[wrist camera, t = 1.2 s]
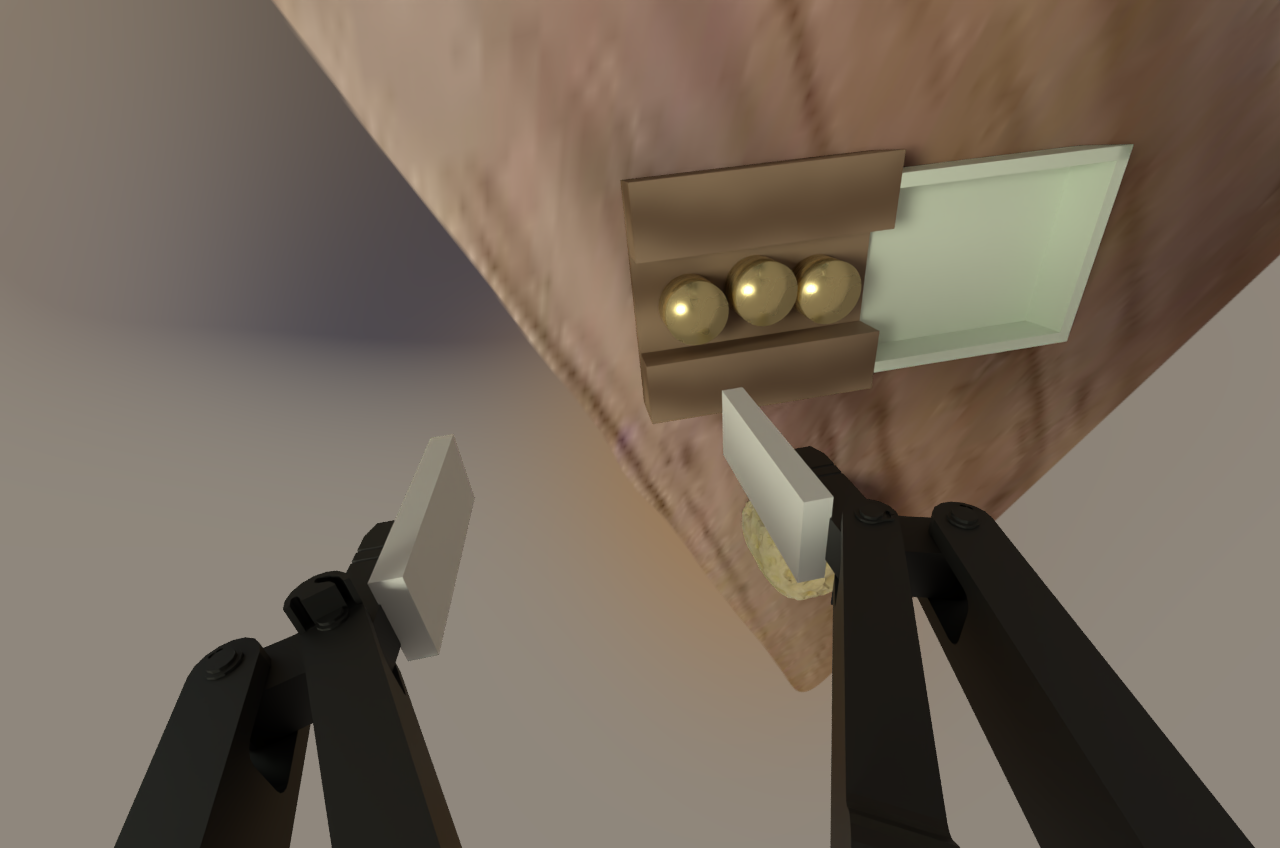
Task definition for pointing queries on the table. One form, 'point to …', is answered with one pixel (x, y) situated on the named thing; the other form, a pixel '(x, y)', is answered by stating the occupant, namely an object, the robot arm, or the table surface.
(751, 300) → the chip
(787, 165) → the slot board
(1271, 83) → the table surface
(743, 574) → the table surface
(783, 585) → the decorative object
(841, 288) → the chip
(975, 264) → the tray
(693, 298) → the chip
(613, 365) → the table surface
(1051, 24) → the table surface
